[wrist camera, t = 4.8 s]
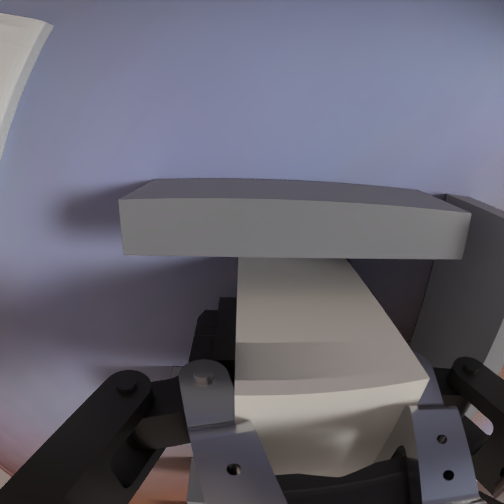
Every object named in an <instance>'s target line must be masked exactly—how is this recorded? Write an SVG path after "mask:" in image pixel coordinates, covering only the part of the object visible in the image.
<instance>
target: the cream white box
mask: <svg viewBox="0 0 504 504" xmlns="http://www.w3.org/2000/svg"><path fill="white" fill-rule="evenodd" d="M429 379H430V378H429V376H428V374H427V373H426V371H425V370H424V368H423V367H422V365H421V364H420V362H419V361H418V359H417V358H416V356H415V355H414V353H413V352H412V350H411V349H410V347H409V346H408V344H407V343H406V341H405V340H404V338H403V337H402V335H401V334H400V332H399V331H398V329H397V328H396V327H395V325H394V324H393V322H392V321H391V319H390V318H389V317H388V315H387V314H386V312H385V311H384V309H383V308H382V307H381V305H380V304H379V303H378V301H377V300H376V298H375V297H374V296H373V294H372V293H371V291H370V290H369V289H368V287H367V286H366V285H365V283H364V282H363V281H362V279H361V278H360V277H359V275H358V274H357V273H356V271H355V270H354V269H353V267H352V266H351V265H350V263H349V262H348V261H347V259H346V258H269V257H238V282H237V314H236V350H235V393H234V399H235V423H239V422H244V421H249V420H250V421H251V422H252V423H253V425H254V427H255V429H256V432H257V434H258V437H259V439H260V441H261V444H262V446H263V449H264V451H265V453H266V456H267V458H268V460H269V463H270V465H271V467H272V470H273V472H274V474H275V475H283V474H298V473H299V474H307V475H317V476H329V477H342V476H345V475H348V474H350V473H353V472H355V471H358V470H360V469H362V468H364V467H367V466H369V465H371V464H373V462H374V461H375V459H376V457H377V456H378V454H379V453H380V451H381V449H382V448H383V446H384V444H385V442H386V441H387V439H388V437H389V435H390V434H391V432H392V430H393V428H394V426H395V425H396V423H397V421H398V419H399V417H400V415H401V413H402V411H403V409H404V407H405V405H417V403H418V402H419V400H420V398H421V396H422V394H423V392H424V390H425V388H426V386H427V383H428V381H429Z"/></svg>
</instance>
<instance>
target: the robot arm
mask: <svg viewBox="0 0 504 504" xmlns="http://www.w3.org/2000/svg"><path fill="white" fill-rule="evenodd" d="M236 314H237V298H233V297H220V301H219V309H218V310H205V311H204V312H203V313H202V314H201V315H200V316H199V317H198V320H197V325H196V330H195V336H194V339H193V344H192V348H191V353H190V358H189V363H188V364H186V365H185V366H184V367H182V369H181V370H180V372H179V375H178V376H176V377H174V378H171V379H167V380H162V381H155V382H150V379H149V378H148V377H147V376H146V375H145V374H143V373H141V372H139V371H134V370H124V371H120V372H117V373H115V374H113V375H111V376H110V377H109V378H108V379H107V380H106V381H105V382H104V383H103V384H102V385H101V386H100V387H99V388H98V389H97V390H96V391H95V392H94V393H93V394H92V395H91V396H90V397H89V398H88V399H87V400H86V401H85V402H84V403H83V404H82V405H81V406H80V407H79V408H78V409H77V410H76V411H75V412H74V413H73V414H72V415H71V416H70V417H69V418H68V419H67V420H66V421H65V422H64V423H63V424H62V425H61V426H60V427H59V429H58V430H57V431H56V432H55V433H54V434H53V435H52V436H51V437H50V438H49V439H48V440H47V441H46V442H45V443H44V444H43V445H42V446H41V447H40V448H39V449H38V450H37V451H36V452H35V453H34V454H33V455H32V457H31V458H30V459H29V460H28V461H27V462H26V463H25V464H24V465H23V466H22V467H21V468H20V469H19V470H18V471H17V472H16V473H15V474H14V475H13V476H12V477H11V479H10V480H9V481H8V482H7V483H6V484H5V485H4V486H3V487H2V488H1V489H0V504H128V503H129V502H130V500H131V499H132V497H133V496H134V494H135V493H136V492H137V490H138V489H139V487H140V486H141V484H142V483H143V481H144V480H145V478H146V477H147V475H148V474H149V472H150V471H151V469H152V468H153V466H154V465H155V464H156V462H157V461H158V459H159V458H160V456H161V455H162V453H163V451H164V450H165V448H166V447H171V446H177V445H183V444H188V443H191V447H192V451H193V456H194V460H195V465H196V469H197V473H198V478H199V482H200V486H201V490H202V494H203V497H204V501H205V504H504V380H503V379H502V378H500V377H499V376H498V375H497V374H495V373H494V372H493V371H491V370H490V369H489V368H487V367H486V366H485V365H484V364H482V363H481V362H480V361H478V360H476V359H474V358H471V357H459V358H457V359H456V360H455V361H454V363H453V365H452V367H451V369H449V368H437V367H432V364H431V362H430V361H429V360H428V359H427V358H426V357H425V356H423V355H421V354H419V353H416V352H413V353H414V355H415V356H416V358H417V359H418V361H419V362H420V364H421V365H422V367H423V368H424V370H425V371H426V373H427V374H428V376H429V378H430V379H429V381H428V383H427V386H426V388H425V390H424V392H423V394H422V396H421V398H420V400H419V402H418V403H417V405H405V407H404V409H403V411H402V413H401V415H400V417H399V419H398V421H397V423H396V425H395V426H394V428H393V430H392V432H391V434H390V435H389V437H388V439H387V441H386V442H385V444H384V446H383V448H382V449H381V451H380V453H379V454H378V456H377V457H376V459H375V461H374V462H373V464H371V465H369V466H367V467H364V468H362V469H360V470H358V471H355V472H353V473H350V474H348V475H345V476H342V477H329V476H317V475H307V474H299V473H298V474H283V475H275V474H274V472H273V470H272V467H271V465H270V463H269V460H268V458H267V456H266V453H265V451H264V449H263V446H262V444H261V441H260V439H259V437H258V434H257V432H256V429H255V427H254V425H253V423H252V422H251V421H250V420H249V421H244V422H239V423H235V399H234V393H235V350H236ZM471 404H472V405H473V406H474V407H475V408H477V409H478V410H479V411H480V412H481V413H482V414H483V415H485V416H486V417H487V418H488V419H489V420H490V421H491V422H492V424H493V433H492V434H491V436H490V435H487V434H485V433H484V432H483V431H482V430H481V429H480V428H479V427H478V426H477V425H475V424H474V423H473V422H472V421H471V420H470V419H469V418H468V417H467V416H465V413H466V412H467V410H468V408H469V407H470V405H471ZM476 479H477V480H478V481H479V482H480V483H481V484H482V485H483V486H484V487H485V488H486V489H487V490H488V491H489V492H490V493H491V494H492V495H493V498H492V497H490V496H488V495H486V494H484V493H482V492H481V491H478V487H477V482H476Z"/></svg>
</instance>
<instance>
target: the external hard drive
mask: <svg viewBox="0 0 504 504" xmlns="http://www.w3.org/2000/svg"><path fill="white" fill-rule="evenodd" d="M53 27H54V26H53V25H51V24H49V23H47V22H45V21H41V20H37V19H32V18H26V17H22V16H16V15H10V14H4V13H0V161H1V157H2V154H3V150H4V146H5V143H6V139H7V136H8V133H9V130H10V126H11V123H12V120H13V117H14V115H15V112H16V109H17V106H18V103H19V101H20V98H21V95H22V93H23V90H24V88H25V85H26V83H27V81H28V78H29V76H30V74H31V71H32V69H33V67H34V65H35V63H36V60H37V58H38V56H39V54H40V52H41V50H42V48H43V46H44V44H45V42H46V40H47V38H48V36H49V35H50V33H51V31H52V29H53Z"/></svg>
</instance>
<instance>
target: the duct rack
mask: <svg viewBox="0 0 504 504" xmlns="http://www.w3.org/2000/svg"><path fill="white" fill-rule="evenodd" d="M118 201H119V214H120V225H121V235H122V244H123V252H124V255H146V256H203V257H269V258H351V259H434V262H433V266H432V270H431V274H430V278H429V282H428V286H427V290H426V293H425V297H424V300H423V304H422V307H421V311H420V314H419V317H418V320H417V323H416V327H415V330H414V333H413V336H412V339H411V341H410V344H409V347H410V349H411V350H412V352H416V353H419V354H421V355H423V356H425V357H426V358H427V359H428V360H429V361H430V362H431V364H432V367H437V368H449V369H451V367H452V365H453V363H454V361H455V360H456V359H457V358H459V357H471V358H474V359H476V360H478V361H480V362H481V363H482V364H484V365H485V366H486V367H487V368H489V369H490V370H491V371H493V372H494V373H495V374H497V375H498V374H499V372H500V370H501V369H502V367H503V365H504V211H502V210H500V209H497V208H495V207H493V206H490V205H488V204H486V203H483V202H481V201H478V200H476V199H473V198H471V197H465V196H458V195H451V194H446V198H445V201H443V200H441V199H438V198H436V197H433V196H431V195H429V194H426V193H424V192H421V191H419V190H412V189H403V188H393V187H383V186H373V185H361V184H349V183H335V182H319V181H301V180H277V179H238V178H185V179H154V180H152V181H150V182H149V183H147V184H145V185H143V186H141V187H140V188H138V189H136V190H134V191H132V192H131V193H129V194H127V195H125V196H124V197H122V198H120V199H119V200H118ZM181 369H182V367H173V369H172V373H171V377H170V379H171V378H174V377H176V376H178V375H179V372H180V370H181ZM477 410H478V409H477V408H475V407H474V406H473V405H472V404H471V405H470V407H469V408H468V410H467V412H466V413H465V416H467V417H468V418H469V419H470V420H471V419H472V417H473V416H474V414H475V413H476V411H477ZM183 445H188V446H191V443H188V444H183ZM187 504H205V501H204V497H203V494H202V490H201V486H200V482H199V478H198V473H197V469H196V465H195V460H194V458H193V457H192V458H191V466H190V475H189V484H188V493H187Z"/></svg>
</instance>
